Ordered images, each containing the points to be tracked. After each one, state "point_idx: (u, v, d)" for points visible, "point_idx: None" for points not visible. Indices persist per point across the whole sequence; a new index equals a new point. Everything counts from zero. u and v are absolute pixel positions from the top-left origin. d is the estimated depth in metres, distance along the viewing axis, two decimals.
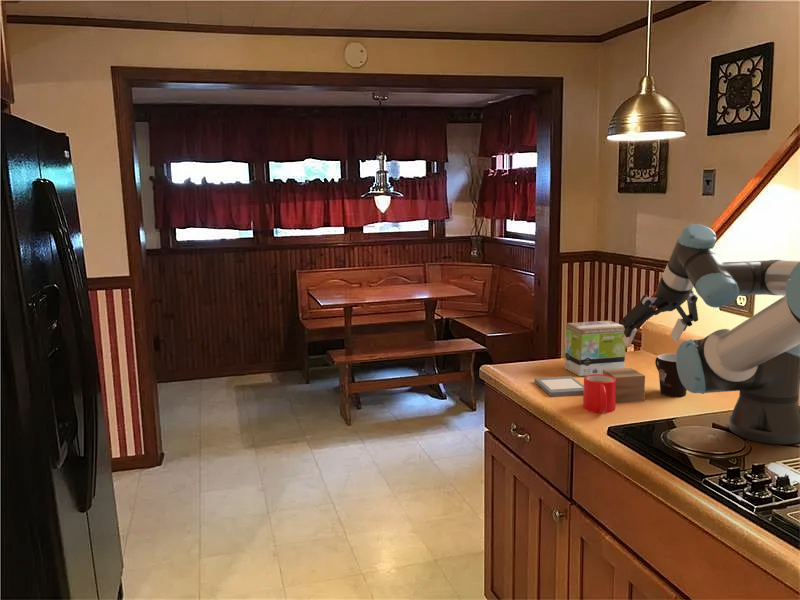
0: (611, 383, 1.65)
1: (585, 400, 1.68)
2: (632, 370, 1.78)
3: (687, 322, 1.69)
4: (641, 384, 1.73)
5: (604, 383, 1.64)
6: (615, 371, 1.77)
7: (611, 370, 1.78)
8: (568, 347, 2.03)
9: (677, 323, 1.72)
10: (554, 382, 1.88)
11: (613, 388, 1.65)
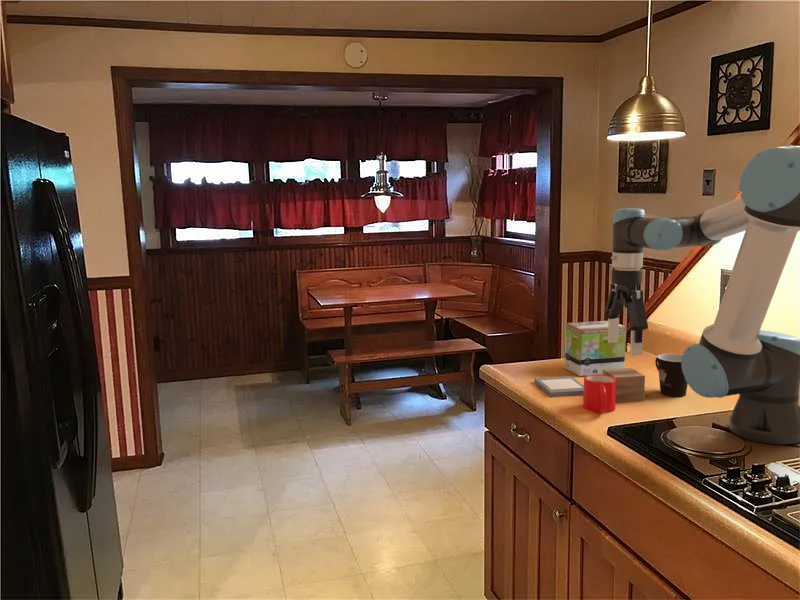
0: (611, 383, 1.65)
1: (585, 400, 1.68)
2: (632, 370, 1.78)
3: None
4: (641, 384, 1.73)
5: (604, 383, 1.64)
6: (615, 371, 1.77)
7: (611, 370, 1.78)
8: (568, 347, 2.03)
9: (611, 324, 1.80)
10: (554, 382, 1.88)
11: (613, 388, 1.65)
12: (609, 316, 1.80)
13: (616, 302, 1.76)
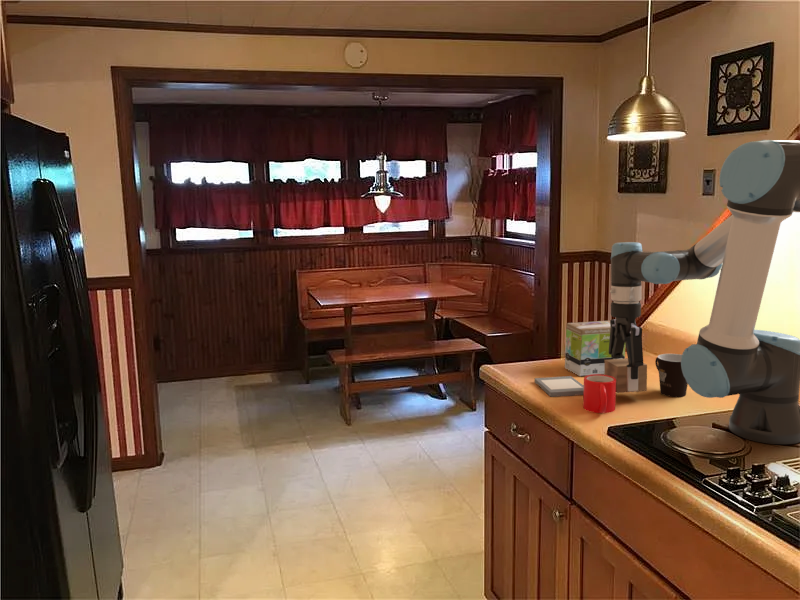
0: (611, 383, 1.65)
1: (585, 400, 1.68)
2: None
3: None
4: (644, 373, 1.72)
5: (604, 383, 1.64)
6: (617, 361, 1.76)
7: (613, 360, 1.77)
8: (568, 347, 2.03)
9: None
10: (554, 382, 1.88)
11: (613, 388, 1.65)
12: (613, 355, 1.79)
13: (617, 337, 1.76)
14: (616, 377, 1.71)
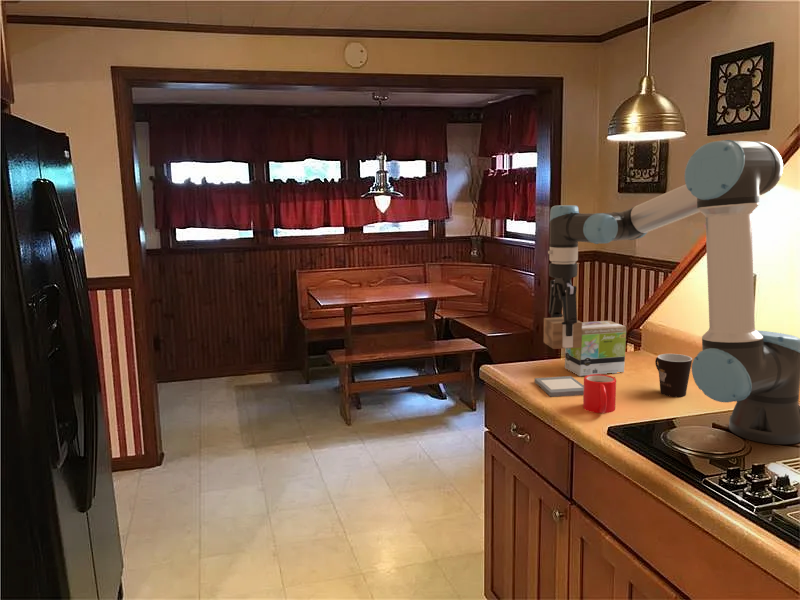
0: (611, 383, 1.65)
1: (585, 400, 1.68)
2: None
3: None
4: (578, 330, 1.80)
5: (604, 383, 1.64)
6: (555, 319, 1.84)
7: (551, 318, 1.86)
8: None
9: None
10: (554, 382, 1.88)
11: (613, 388, 1.65)
12: (552, 314, 1.88)
13: (556, 296, 1.84)
14: (552, 334, 1.80)
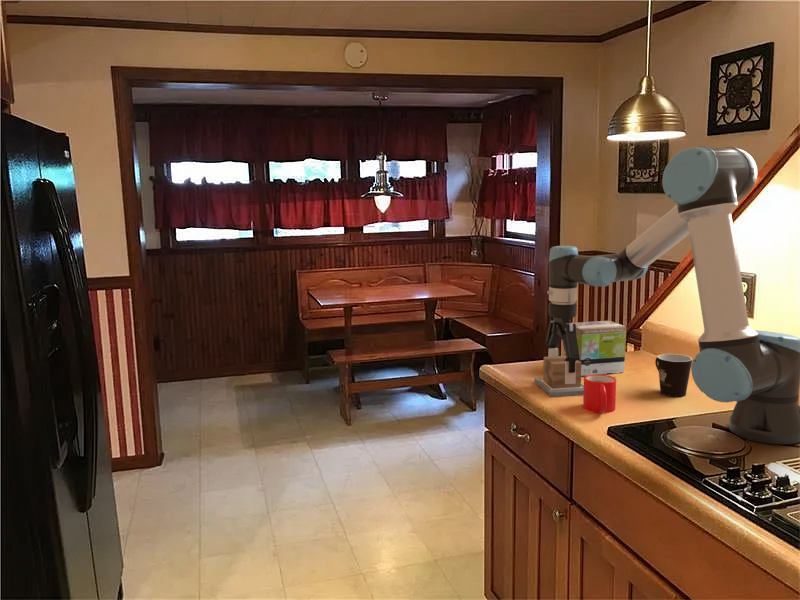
0: (611, 383, 1.65)
1: (585, 400, 1.68)
2: None
3: None
4: (578, 370, 1.82)
5: (604, 383, 1.64)
6: (555, 359, 1.86)
7: (551, 357, 1.87)
8: None
9: (551, 354, 1.91)
10: None
11: (613, 388, 1.65)
12: (549, 346, 1.91)
13: (554, 333, 1.87)
14: (552, 374, 1.82)
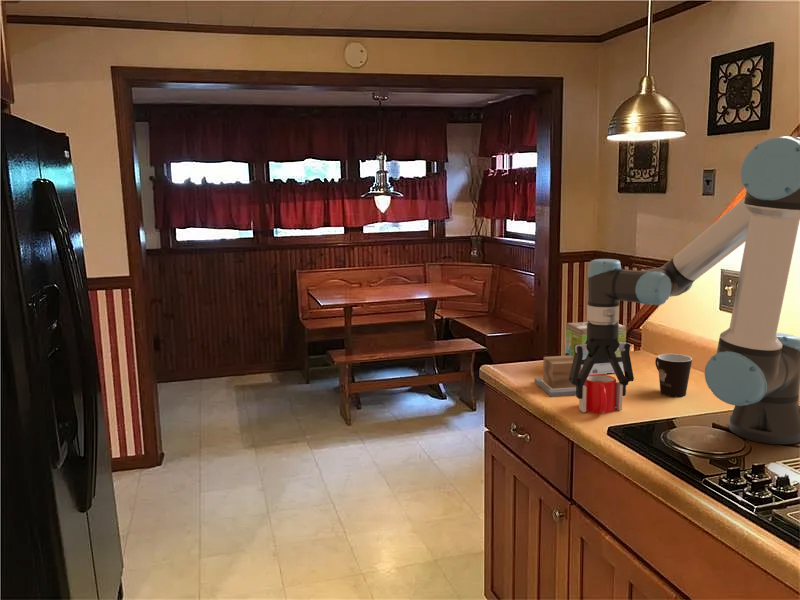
0: (611, 383, 1.65)
1: None
2: (571, 357, 1.87)
3: None
4: None
5: (604, 383, 1.64)
6: (555, 359, 1.86)
7: (551, 357, 1.87)
8: (568, 347, 2.03)
9: None
10: None
11: (613, 388, 1.65)
12: None
13: None
14: (552, 374, 1.82)
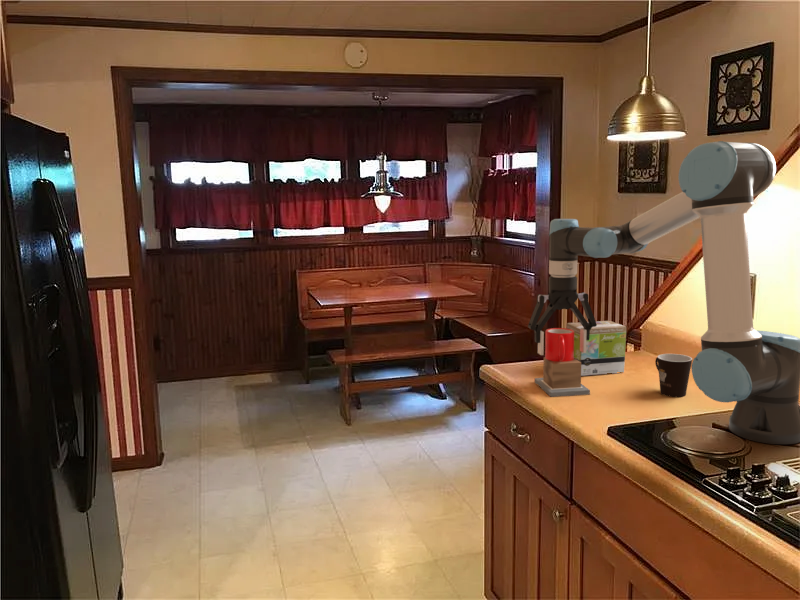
0: (569, 334, 1.82)
1: (546, 350, 1.86)
2: None
3: None
4: (578, 370, 1.82)
5: (563, 334, 1.82)
6: None
7: None
8: None
9: None
10: None
11: (571, 339, 1.83)
12: (541, 329, 1.82)
13: None
14: (552, 374, 1.82)
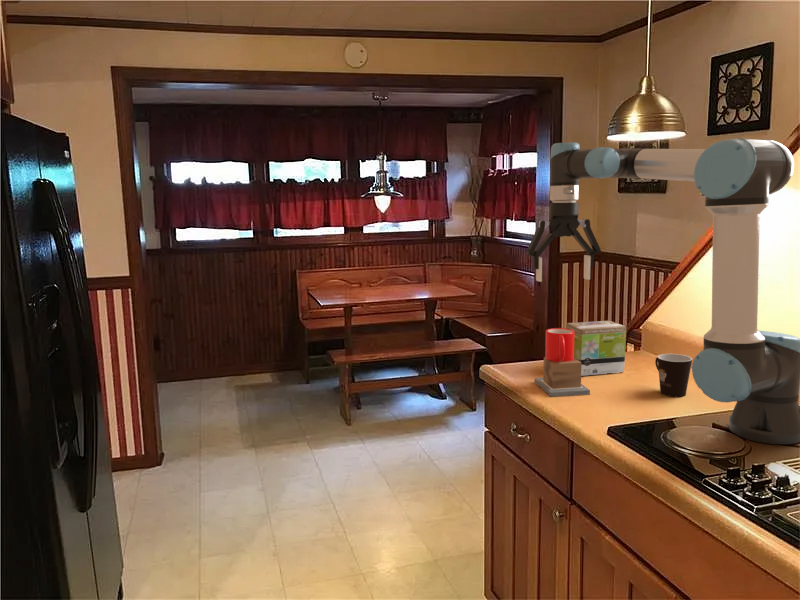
0: (569, 334, 1.82)
1: (547, 350, 1.86)
2: None
3: None
4: (578, 370, 1.82)
5: (563, 334, 1.82)
6: None
7: None
8: None
9: None
10: None
11: (571, 339, 1.83)
12: (540, 254, 1.78)
13: None
14: (552, 374, 1.82)
